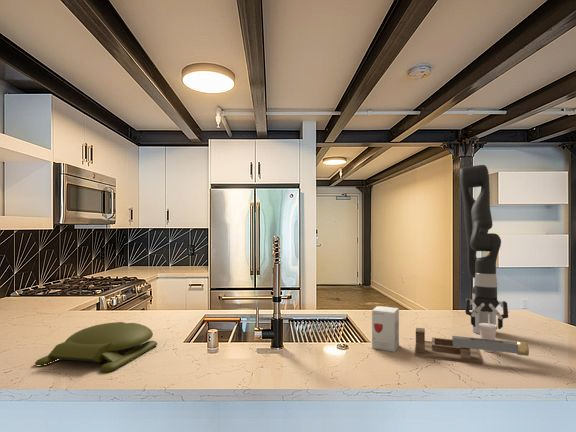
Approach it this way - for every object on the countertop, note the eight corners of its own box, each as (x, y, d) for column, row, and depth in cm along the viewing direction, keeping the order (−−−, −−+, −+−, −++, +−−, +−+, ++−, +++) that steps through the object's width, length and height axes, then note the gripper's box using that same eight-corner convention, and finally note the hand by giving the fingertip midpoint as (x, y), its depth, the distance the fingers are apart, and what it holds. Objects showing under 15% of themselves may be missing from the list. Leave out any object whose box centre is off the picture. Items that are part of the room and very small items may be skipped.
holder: (416, 342, 147) (415, 320, 147) (476, 348, 139) (475, 325, 139) (414, 355, 131) (414, 331, 132) (482, 364, 123) (481, 338, 123)
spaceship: (110, 375, 116) (110, 344, 116) (30, 367, 122) (31, 338, 122) (167, 341, 150) (167, 317, 150) (103, 337, 156) (103, 314, 156)
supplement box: (371, 348, 140) (371, 309, 140) (377, 342, 147) (376, 305, 148) (395, 352, 135) (394, 312, 136) (399, 345, 143) (399, 307, 144)
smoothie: (500, 353, 133) (499, 316, 134) (481, 352, 135) (481, 315, 135) (494, 348, 140) (493, 312, 140) (476, 347, 141) (475, 311, 141)
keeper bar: (452, 345, 131) (452, 333, 132) (525, 353, 123) (525, 340, 123) (453, 349, 127) (452, 336, 128) (529, 357, 119) (528, 344, 119)
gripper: (505, 284, 139) (506, 327, 138) (464, 282, 144) (465, 323, 143) (509, 287, 132) (509, 332, 131) (466, 284, 137) (466, 327, 136)
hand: (486, 327), depth 137 cm, fingers open, 8 cm apart
